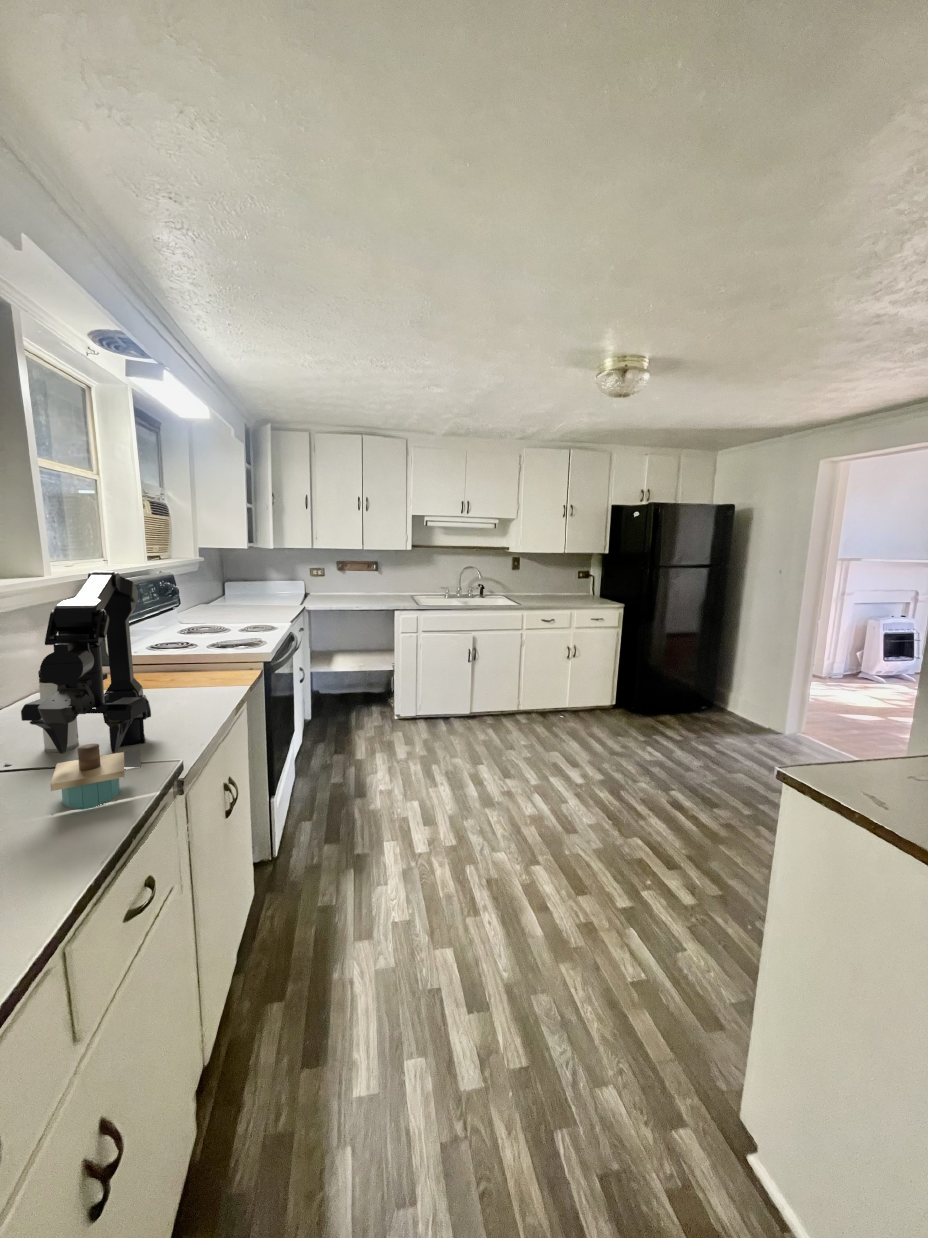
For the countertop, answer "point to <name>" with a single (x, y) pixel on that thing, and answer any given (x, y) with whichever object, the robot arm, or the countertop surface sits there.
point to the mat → (131, 758)
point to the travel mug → (48, 690)
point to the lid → (88, 768)
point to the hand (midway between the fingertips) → (89, 752)
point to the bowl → (90, 794)
